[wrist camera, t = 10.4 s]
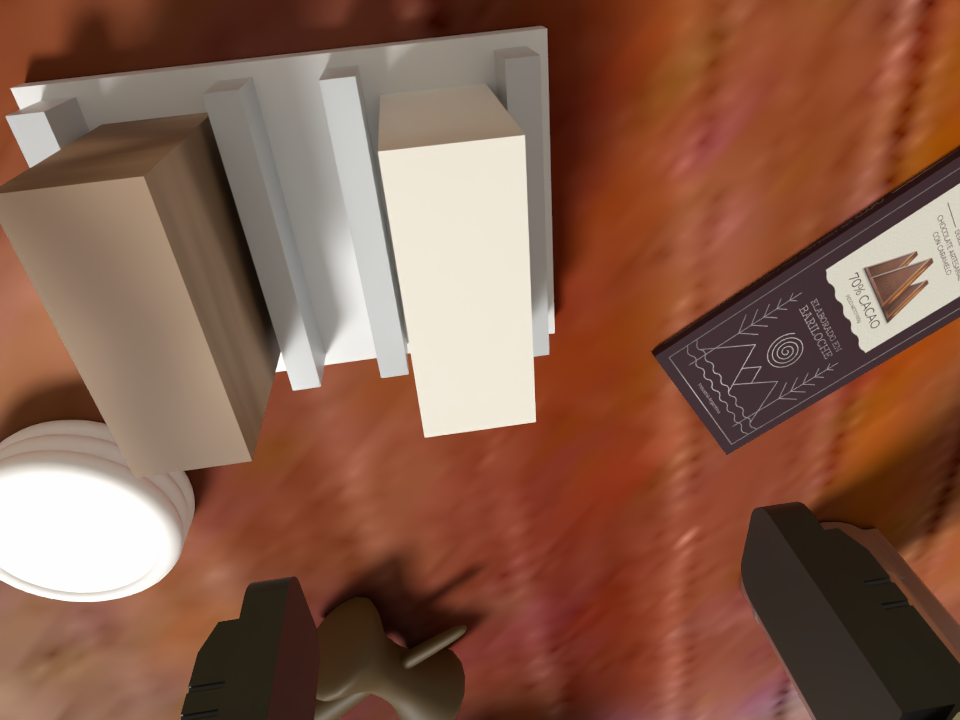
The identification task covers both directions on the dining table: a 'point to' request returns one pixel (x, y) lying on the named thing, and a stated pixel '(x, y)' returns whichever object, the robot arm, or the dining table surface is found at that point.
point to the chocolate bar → (826, 312)
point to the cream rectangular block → (461, 254)
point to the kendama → (385, 667)
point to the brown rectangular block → (151, 288)
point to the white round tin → (85, 515)
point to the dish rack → (321, 172)
